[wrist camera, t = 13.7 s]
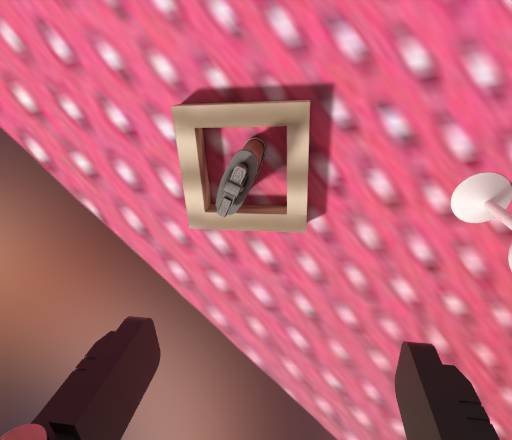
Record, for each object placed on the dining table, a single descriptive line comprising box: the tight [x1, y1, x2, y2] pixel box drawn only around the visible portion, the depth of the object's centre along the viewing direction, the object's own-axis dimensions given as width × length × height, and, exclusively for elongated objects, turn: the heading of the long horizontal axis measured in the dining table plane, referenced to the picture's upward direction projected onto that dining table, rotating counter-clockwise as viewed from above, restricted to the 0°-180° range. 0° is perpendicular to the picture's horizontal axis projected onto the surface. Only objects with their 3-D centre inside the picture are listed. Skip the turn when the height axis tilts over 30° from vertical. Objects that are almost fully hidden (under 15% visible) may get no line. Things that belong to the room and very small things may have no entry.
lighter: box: [216, 137, 266, 218], centre depth 37 cm, size 8×3×10 cm, turn 157°
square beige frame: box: [171, 100, 310, 233], centre depth 40 cm, size 16×16×3 cm
